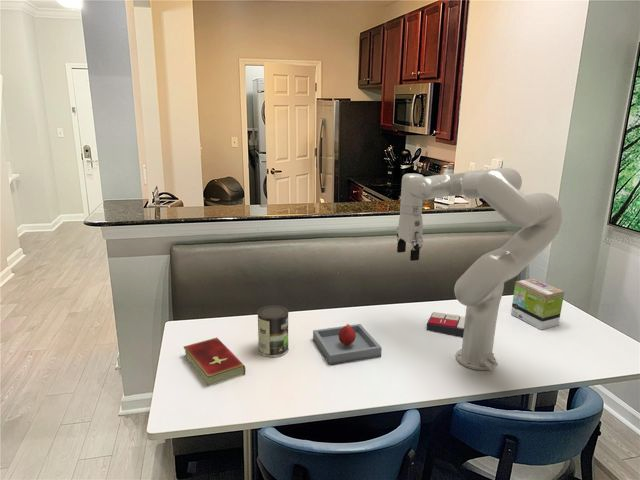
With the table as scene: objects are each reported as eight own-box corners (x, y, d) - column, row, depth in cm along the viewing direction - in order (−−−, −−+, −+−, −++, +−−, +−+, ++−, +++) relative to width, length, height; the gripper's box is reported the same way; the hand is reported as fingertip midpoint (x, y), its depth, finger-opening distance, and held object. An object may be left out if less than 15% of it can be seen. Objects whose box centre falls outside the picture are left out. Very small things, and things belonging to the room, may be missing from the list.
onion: (348, 351, 155) (349, 329, 153) (334, 346, 159) (335, 324, 157) (358, 344, 160) (359, 323, 158) (344, 339, 163) (345, 318, 161)
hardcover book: (218, 347, 160) (218, 336, 159) (245, 375, 143) (245, 363, 142) (184, 357, 153) (183, 345, 152) (208, 388, 137) (207, 375, 135)
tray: (381, 356, 154) (381, 347, 153) (329, 365, 149) (330, 355, 148) (359, 332, 171) (360, 323, 170) (312, 339, 165) (313, 330, 164)
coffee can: (292, 344, 162) (292, 306, 158) (283, 359, 152) (283, 319, 148) (263, 340, 164) (262, 303, 160) (253, 355, 154) (252, 316, 150)
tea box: (509, 314, 188) (514, 280, 183) (527, 310, 192) (532, 277, 188) (540, 330, 174) (546, 294, 170) (559, 326, 179) (565, 290, 174)
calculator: (432, 310, 182) (472, 316, 176) (432, 320, 183) (471, 326, 177) (426, 322, 173) (468, 328, 167) (426, 332, 174) (468, 339, 168)
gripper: (433, 214, 156) (429, 262, 160) (408, 204, 171) (405, 248, 176) (413, 215, 153) (410, 264, 158) (390, 205, 169) (387, 250, 174)
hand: (407, 256), depth 167 cm, fingers open, 9 cm apart
